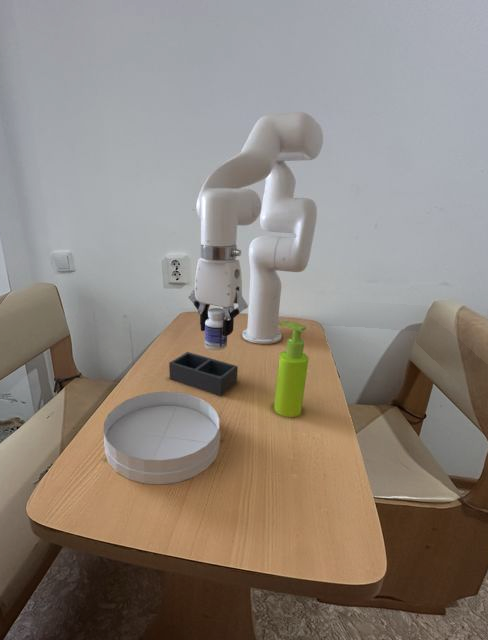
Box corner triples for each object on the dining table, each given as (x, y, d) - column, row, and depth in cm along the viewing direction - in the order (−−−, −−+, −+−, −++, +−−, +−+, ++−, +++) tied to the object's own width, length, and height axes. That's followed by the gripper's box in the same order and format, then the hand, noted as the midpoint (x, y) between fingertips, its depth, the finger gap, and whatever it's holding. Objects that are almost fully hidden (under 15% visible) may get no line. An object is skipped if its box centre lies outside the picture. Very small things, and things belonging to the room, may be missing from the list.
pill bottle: (225, 351, 86) (226, 315, 82) (203, 349, 87) (203, 313, 83) (228, 342, 90) (229, 307, 87) (206, 341, 91) (207, 306, 88)
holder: (187, 367, 102) (187, 351, 100) (236, 382, 94) (237, 366, 92) (169, 378, 96) (169, 362, 94) (220, 396, 88) (221, 379, 86)
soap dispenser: (279, 397, 87) (288, 316, 79) (306, 409, 82) (318, 325, 74) (264, 407, 83) (272, 323, 75) (291, 420, 79) (303, 332, 70)
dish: (227, 417, 80) (227, 397, 78) (209, 493, 60) (210, 470, 58) (129, 405, 84) (127, 386, 82) (83, 473, 64) (79, 451, 62)
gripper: (262, 254, 78) (256, 334, 85) (195, 247, 87) (195, 320, 94) (246, 260, 72) (241, 345, 80) (175, 251, 81) (177, 329, 89)
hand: (216, 331), depth 87 cm, fingers closed on pill bottle, 5 cm apart
